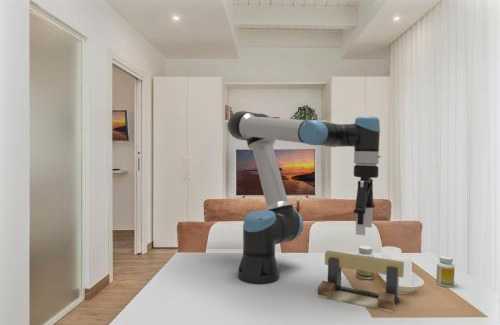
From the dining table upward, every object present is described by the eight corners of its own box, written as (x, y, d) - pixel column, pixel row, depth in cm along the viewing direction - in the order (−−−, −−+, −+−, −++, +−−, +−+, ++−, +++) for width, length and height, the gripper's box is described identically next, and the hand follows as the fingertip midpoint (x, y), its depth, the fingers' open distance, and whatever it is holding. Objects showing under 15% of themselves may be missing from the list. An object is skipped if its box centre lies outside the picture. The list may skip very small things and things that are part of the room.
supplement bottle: (432, 282, 122) (433, 255, 121) (444, 281, 123) (444, 254, 123) (446, 288, 117) (447, 260, 116) (457, 286, 118) (458, 259, 118)
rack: (325, 290, 113) (326, 258, 113) (330, 284, 118) (331, 254, 118) (398, 304, 102) (399, 270, 102) (399, 297, 108) (400, 265, 107)
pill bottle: (374, 280, 122) (375, 250, 122) (357, 279, 124) (357, 248, 124) (372, 275, 129) (373, 245, 128) (355, 273, 130) (355, 244, 130)
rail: (324, 264, 114) (325, 252, 114) (327, 262, 117) (327, 250, 117) (402, 277, 103) (403, 264, 103) (403, 274, 106) (403, 261, 106)
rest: (317, 296, 107) (317, 286, 107) (323, 289, 114) (323, 280, 114) (392, 312, 97) (392, 302, 97) (394, 303, 103) (395, 293, 103)
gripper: (372, 165, 97) (370, 240, 97) (383, 164, 119) (381, 225, 119) (346, 165, 100) (343, 236, 101) (360, 164, 123) (359, 222, 123)
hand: (364, 230), depth 110 cm, fingers open, 13 cm apart
